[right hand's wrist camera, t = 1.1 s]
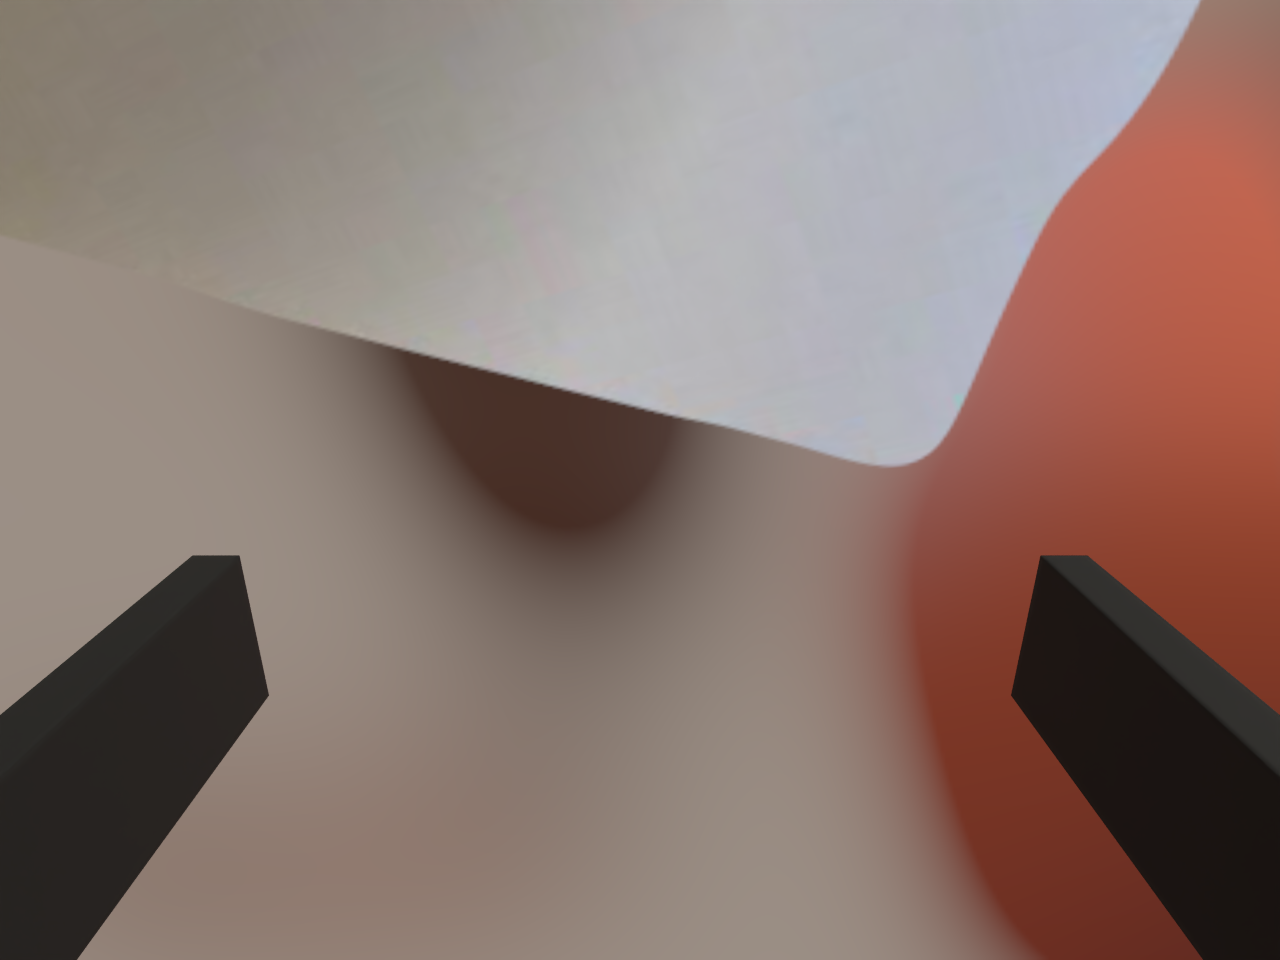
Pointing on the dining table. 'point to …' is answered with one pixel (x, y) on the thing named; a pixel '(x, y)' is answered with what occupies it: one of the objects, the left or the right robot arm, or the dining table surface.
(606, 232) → the dining table surface
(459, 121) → the dining table surface
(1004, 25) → the dining table surface
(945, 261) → the dining table surface
